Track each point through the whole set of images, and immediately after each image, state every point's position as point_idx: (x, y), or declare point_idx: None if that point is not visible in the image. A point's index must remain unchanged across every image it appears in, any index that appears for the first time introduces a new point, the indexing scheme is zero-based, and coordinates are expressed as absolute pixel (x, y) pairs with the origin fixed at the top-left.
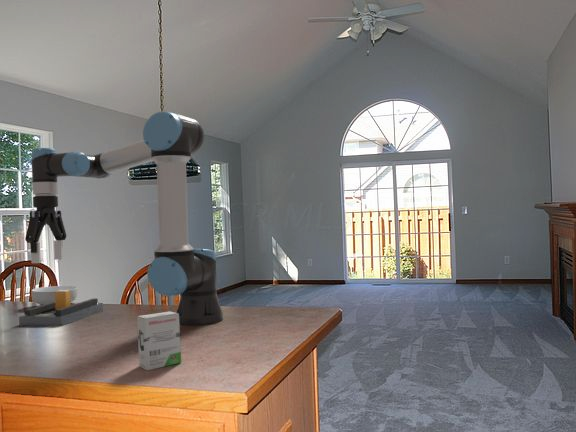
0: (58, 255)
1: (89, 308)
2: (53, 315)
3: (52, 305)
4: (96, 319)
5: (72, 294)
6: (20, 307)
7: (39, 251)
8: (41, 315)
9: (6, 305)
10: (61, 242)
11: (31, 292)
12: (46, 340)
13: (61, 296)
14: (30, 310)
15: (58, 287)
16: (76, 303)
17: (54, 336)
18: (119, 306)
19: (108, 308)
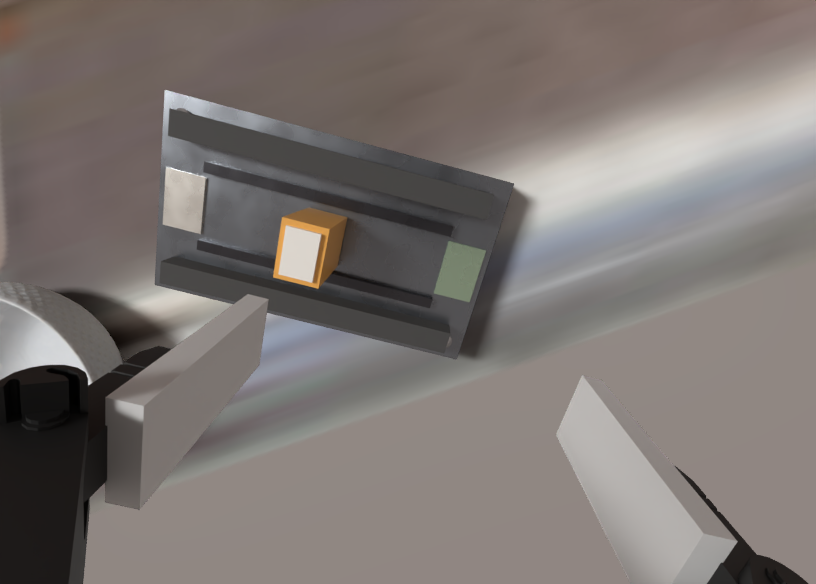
0: (248, 343)
1: (291, 124)
2: (472, 229)
3: (299, 293)
4: (393, 66)
5: (28, 291)
6: None
7: (648, 445)
8: (471, 276)
9: None
10: (156, 382)
11: None
12: (763, 151)
13: (331, 247)
14: (445, 331)
15: None
16: (191, 220)
17: (700, 143)
18: (69, 40)
19: (124, 87)
